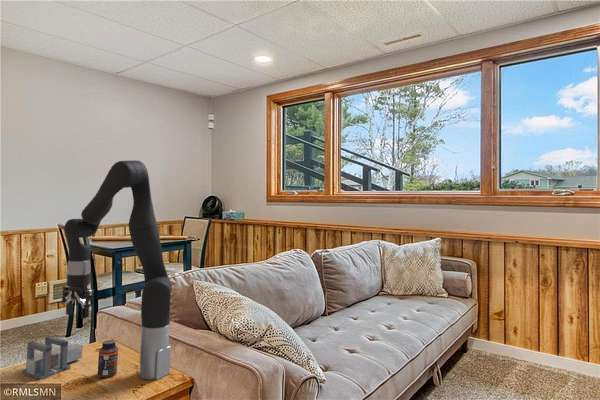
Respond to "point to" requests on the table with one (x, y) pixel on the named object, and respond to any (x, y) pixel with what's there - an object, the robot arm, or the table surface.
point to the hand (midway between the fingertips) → (77, 316)
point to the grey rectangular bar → (54, 359)
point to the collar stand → (48, 357)
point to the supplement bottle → (108, 359)
